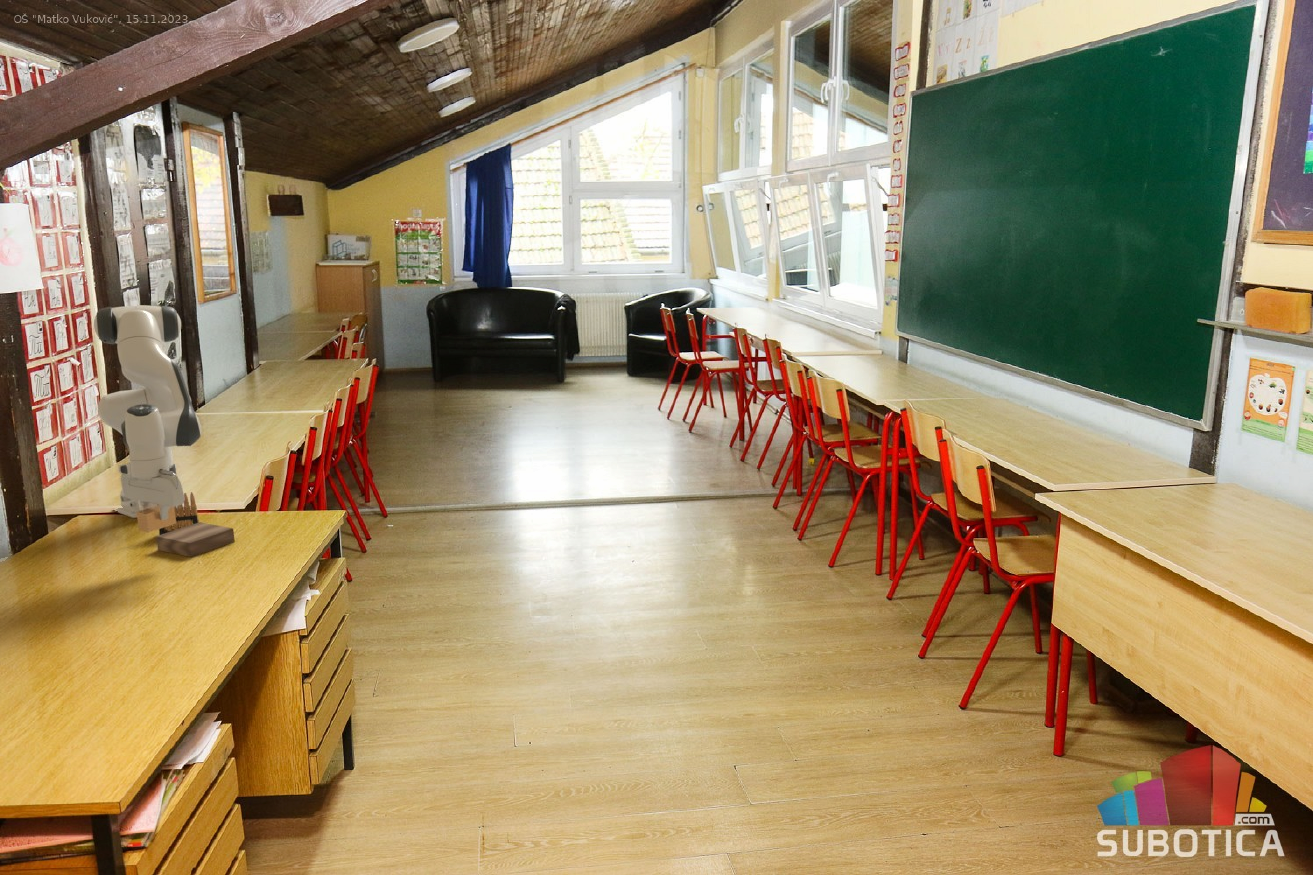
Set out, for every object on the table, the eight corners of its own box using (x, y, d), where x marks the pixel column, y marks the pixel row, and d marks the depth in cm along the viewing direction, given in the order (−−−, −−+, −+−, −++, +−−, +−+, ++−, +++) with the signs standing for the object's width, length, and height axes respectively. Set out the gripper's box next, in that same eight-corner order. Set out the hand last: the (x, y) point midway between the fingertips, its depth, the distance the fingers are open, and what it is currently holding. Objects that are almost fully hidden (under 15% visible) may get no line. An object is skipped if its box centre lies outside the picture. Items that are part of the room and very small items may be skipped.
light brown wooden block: (138, 530, 252) (136, 511, 251) (166, 521, 259) (164, 503, 257) (148, 532, 250) (146, 513, 249) (176, 523, 257) (173, 505, 256)
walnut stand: (157, 549, 268) (155, 536, 267) (201, 535, 280) (199, 522, 279) (191, 557, 261) (189, 543, 261) (234, 541, 274) (233, 528, 273)
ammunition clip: (200, 529, 285) (195, 490, 283) (199, 531, 283) (194, 492, 281) (160, 534, 282) (155, 494, 279) (159, 536, 280) (154, 496, 277)
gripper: (187, 469, 249) (193, 520, 252) (136, 460, 258) (143, 509, 261) (165, 474, 243) (172, 527, 246) (113, 466, 252) (121, 516, 256)
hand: (156, 518), depth 254 cm, fingers closed on light brown wooden block, 4 cm apart
